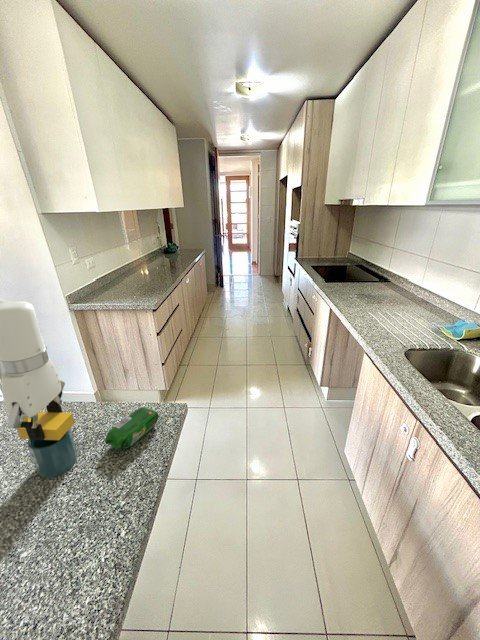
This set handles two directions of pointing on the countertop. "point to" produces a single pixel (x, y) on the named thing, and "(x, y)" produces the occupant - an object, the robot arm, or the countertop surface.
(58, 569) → the countertop surface
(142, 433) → the snack package
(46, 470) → the cup
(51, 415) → the yellow flat block
